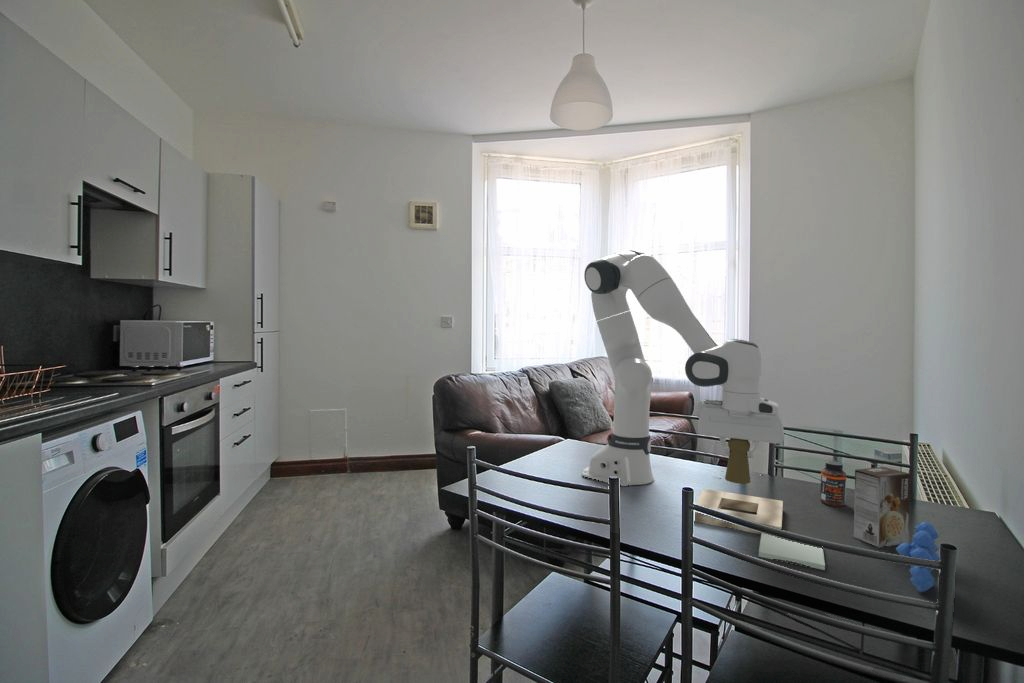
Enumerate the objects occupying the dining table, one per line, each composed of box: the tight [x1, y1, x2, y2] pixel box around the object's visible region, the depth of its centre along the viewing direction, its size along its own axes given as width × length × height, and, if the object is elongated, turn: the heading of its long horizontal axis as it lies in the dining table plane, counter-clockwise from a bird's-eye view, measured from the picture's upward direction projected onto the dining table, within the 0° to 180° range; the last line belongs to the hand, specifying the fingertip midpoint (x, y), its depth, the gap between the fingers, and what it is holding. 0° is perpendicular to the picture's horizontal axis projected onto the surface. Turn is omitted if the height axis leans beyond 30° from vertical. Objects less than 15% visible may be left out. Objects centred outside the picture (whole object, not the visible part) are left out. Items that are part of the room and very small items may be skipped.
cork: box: [724, 438, 751, 485], centre depth 130 cm, size 6×6×11 cm
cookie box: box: [853, 466, 911, 548], centre depth 116 cm, size 9×6×16 cm
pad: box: [758, 533, 826, 571], centre depth 110 cm, size 12×12×1 cm
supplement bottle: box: [819, 460, 847, 507], centre depth 140 cm, size 6×6×11 cm
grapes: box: [895, 521, 941, 593], centre depth 96 cm, size 12×7×12 cm, turn 135°
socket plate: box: [694, 488, 784, 535], centre depth 130 cm, size 20×20×2 cm
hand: (738, 455), depth 130 cm, fingers closed on cork, 4 cm apart
